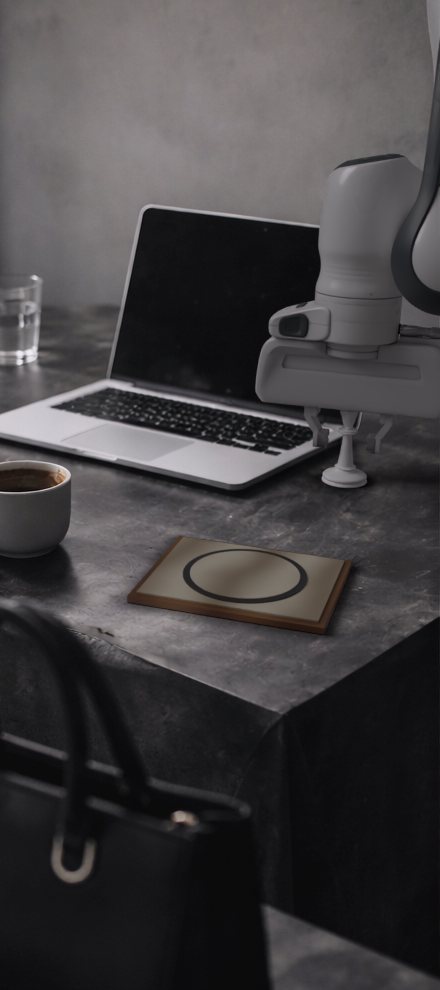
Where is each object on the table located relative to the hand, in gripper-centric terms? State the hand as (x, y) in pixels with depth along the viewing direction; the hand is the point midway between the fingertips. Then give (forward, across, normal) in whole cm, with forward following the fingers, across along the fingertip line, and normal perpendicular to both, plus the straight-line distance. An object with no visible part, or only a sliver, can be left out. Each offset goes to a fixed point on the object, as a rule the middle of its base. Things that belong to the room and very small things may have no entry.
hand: (346, 449), depth 105 cm
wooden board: (+4, +4, +28) cm, 29 cm away
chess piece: (+4, 0, 0) cm, 4 cm away
